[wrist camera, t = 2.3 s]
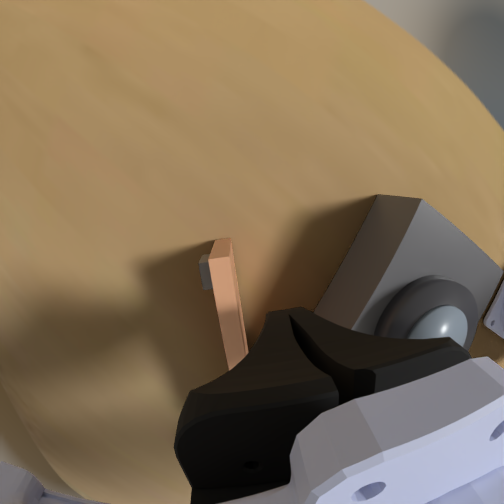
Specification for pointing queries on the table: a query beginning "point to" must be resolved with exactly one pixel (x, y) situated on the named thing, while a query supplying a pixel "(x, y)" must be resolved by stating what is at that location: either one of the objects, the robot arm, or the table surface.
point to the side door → (225, 298)
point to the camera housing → (411, 276)
